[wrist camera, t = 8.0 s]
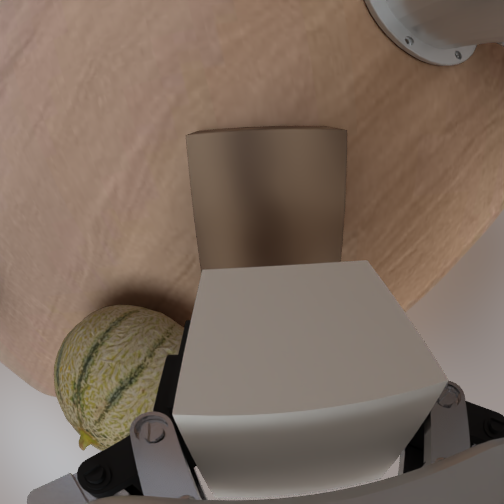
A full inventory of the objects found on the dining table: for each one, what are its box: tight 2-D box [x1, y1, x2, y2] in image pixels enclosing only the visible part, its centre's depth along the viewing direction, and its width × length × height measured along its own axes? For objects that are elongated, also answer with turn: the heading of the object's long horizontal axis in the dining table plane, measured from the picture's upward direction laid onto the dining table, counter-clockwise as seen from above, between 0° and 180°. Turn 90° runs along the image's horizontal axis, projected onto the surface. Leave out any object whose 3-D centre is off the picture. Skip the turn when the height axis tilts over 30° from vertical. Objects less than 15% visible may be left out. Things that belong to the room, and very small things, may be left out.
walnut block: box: [186, 126, 347, 273], centre depth 22 cm, size 10×14×5 cm
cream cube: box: [172, 260, 448, 498], centre depth 9 cm, size 6×6×6 cm
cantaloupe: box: [54, 305, 184, 451], centre depth 23 cm, size 15×15×15 cm
